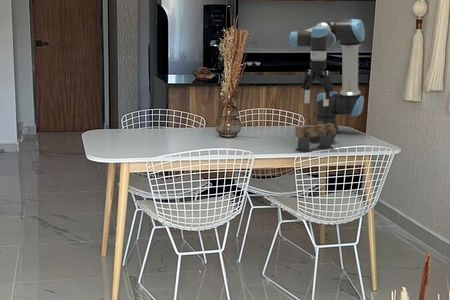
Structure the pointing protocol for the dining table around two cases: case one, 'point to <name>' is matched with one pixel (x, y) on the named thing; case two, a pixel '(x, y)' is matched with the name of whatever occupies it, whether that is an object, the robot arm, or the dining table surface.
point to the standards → (324, 144)
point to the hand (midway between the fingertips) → (316, 104)
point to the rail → (314, 130)
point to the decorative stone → (317, 138)
